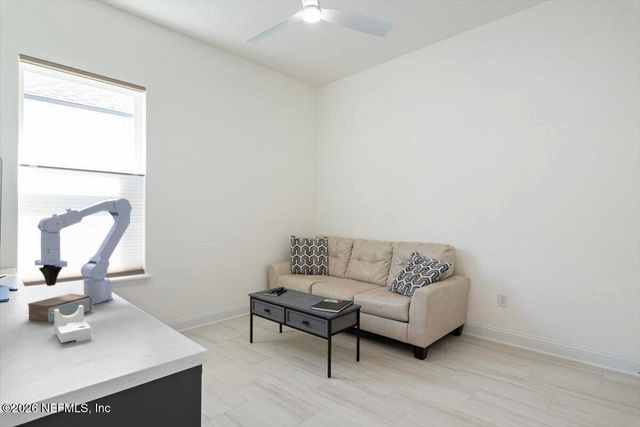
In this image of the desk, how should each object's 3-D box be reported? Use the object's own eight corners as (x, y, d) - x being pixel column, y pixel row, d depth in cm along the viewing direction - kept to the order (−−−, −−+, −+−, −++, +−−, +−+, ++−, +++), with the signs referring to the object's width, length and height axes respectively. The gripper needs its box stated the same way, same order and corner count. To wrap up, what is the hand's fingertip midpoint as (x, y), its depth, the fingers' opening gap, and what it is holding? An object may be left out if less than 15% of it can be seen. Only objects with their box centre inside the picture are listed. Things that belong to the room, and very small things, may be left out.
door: (90, 309, 128) (90, 297, 128) (93, 310, 128) (93, 297, 128) (48, 321, 114) (48, 308, 114) (51, 322, 114) (51, 308, 114)
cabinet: (70, 308, 131) (70, 293, 131) (89, 310, 128) (89, 295, 128) (28, 319, 118) (27, 303, 118) (48, 322, 114) (48, 306, 114)
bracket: (54, 333, 105) (54, 309, 105) (82, 328, 110) (81, 304, 110) (61, 346, 96) (60, 319, 96) (91, 339, 101) (90, 313, 101)
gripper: (25, 249, 127) (26, 286, 127) (52, 251, 122) (53, 289, 122) (46, 247, 133) (46, 282, 134) (72, 248, 129) (73, 284, 129)
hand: (51, 285), depth 128 cm, fingers closed
